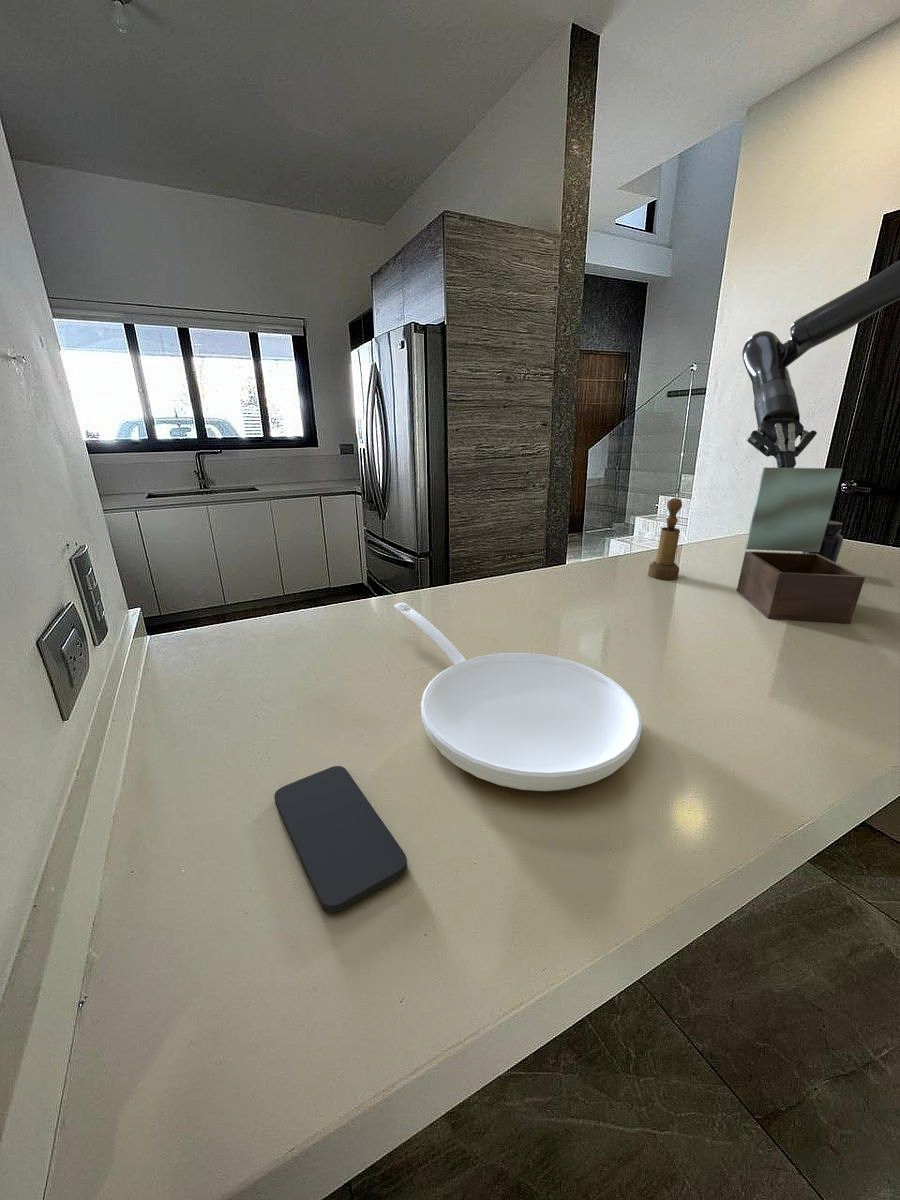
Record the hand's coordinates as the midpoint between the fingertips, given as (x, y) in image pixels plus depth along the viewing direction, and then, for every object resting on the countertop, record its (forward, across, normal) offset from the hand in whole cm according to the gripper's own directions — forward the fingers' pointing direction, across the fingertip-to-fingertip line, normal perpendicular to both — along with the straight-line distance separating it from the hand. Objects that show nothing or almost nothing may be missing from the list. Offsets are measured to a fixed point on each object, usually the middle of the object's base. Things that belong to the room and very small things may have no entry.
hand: (787, 469), depth 98 cm
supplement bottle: (+9, +17, +26) cm, 33 cm away
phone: (+75, -66, -40) cm, 108 cm away
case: (+27, 0, +8) cm, 28 cm away
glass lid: (+10, 0, +1) cm, 10 cm away
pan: (+58, -56, -22) cm, 84 cm away
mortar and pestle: (+16, -20, +19) cm, 32 cm away
